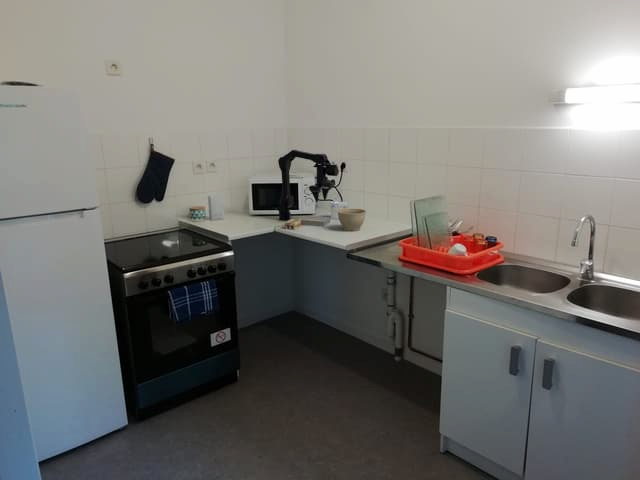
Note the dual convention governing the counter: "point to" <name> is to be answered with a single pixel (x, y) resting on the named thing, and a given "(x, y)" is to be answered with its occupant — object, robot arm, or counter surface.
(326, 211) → the counter surface
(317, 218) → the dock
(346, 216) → the planter bowl
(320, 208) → the counter surface
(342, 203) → the light bulb box
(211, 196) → the skincare box
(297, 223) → the pallet
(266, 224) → the counter surface
